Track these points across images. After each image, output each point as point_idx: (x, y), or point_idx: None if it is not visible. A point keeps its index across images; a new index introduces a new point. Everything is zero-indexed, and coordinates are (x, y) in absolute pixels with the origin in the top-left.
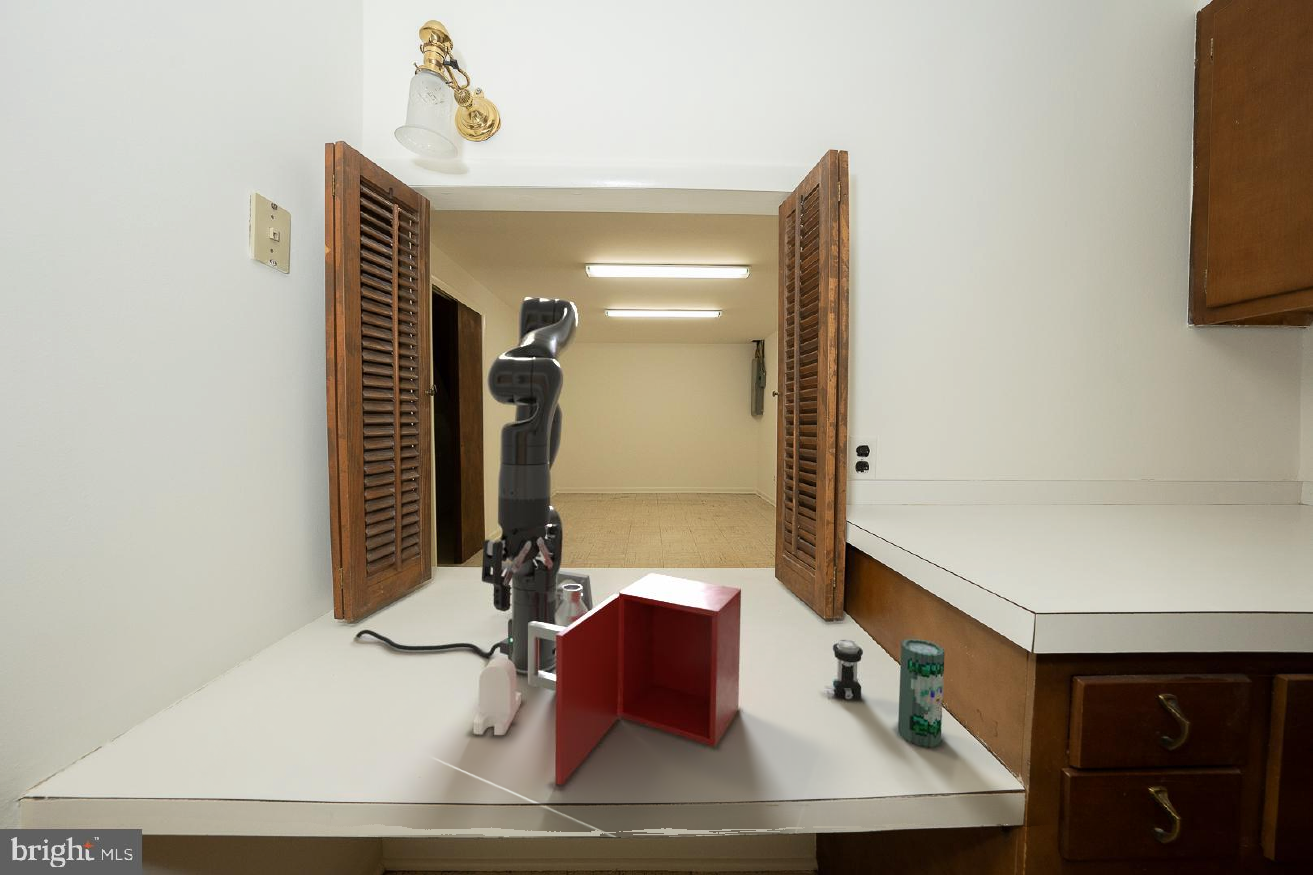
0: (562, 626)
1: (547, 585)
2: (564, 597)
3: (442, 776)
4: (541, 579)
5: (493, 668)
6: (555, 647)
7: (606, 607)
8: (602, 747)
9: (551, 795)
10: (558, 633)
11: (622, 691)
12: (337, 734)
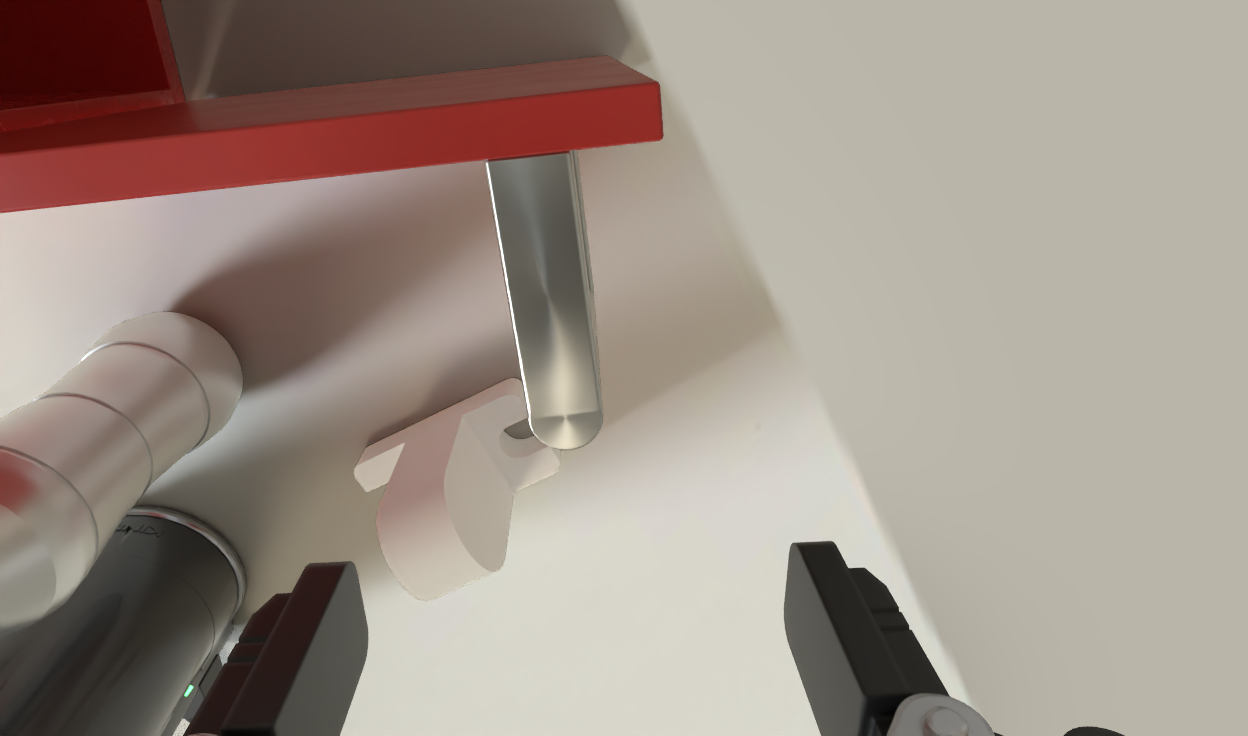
0: (90, 517)
1: (305, 600)
2: None
3: (731, 383)
4: (321, 684)
5: (471, 550)
6: None
7: None
8: (373, 51)
9: (650, 59)
10: (638, 135)
11: (124, 97)
12: (732, 691)
